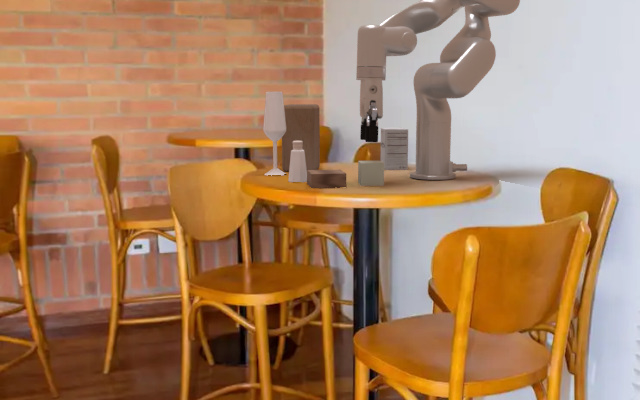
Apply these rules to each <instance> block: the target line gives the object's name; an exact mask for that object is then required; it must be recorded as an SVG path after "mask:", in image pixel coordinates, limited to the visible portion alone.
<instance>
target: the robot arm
mask: <svg viewBox="0 0 640 400" xmlns="http://www.w3.org/2000/svg"><path fill="white" fill-rule="evenodd" d="M520 2H521V0H418V1H417V2H415V3H412V4H411V5H409V6H408V7H406V8H404V9H402V10H400V11H398V12H397V13H395V14H393V15H391V16H390V17H388V18H386V20H384V21H382V22H381V23H380V24H379V25H378V24H363V25H361V26H359V27H358V29H357V44H356V45H357V46H356V47H357V50H356V72H355V73H356V74H355V75H356V80H357V81H360V85H359V86H360V89H359V90H360V91H359V116H360V118H361V122H360V140H362V141H365V143H378V141H379V121H378V119H379V120H381V119H383V116H384V114H383V113H384V111H383V110H384V109H383V108H384V107H383V106H384V105H383V104H384V102H383V101H384V95H383V94H384V92H383V81H386V79H387V78H386V73H387V69H386V67H387V57H398V56H399V57H401V56H402V57H403V56H407V55H409V54H411V53H412V52H414V50H415V49H416V47H417V43H418V39H417V38H418V37H417V35H418V34H421V33H427V32H428V31H431V30H434V29H436V28H438V27H440V26H441V25H442V24H444V23H445V22H447V20H448V19H449V18H451V17H452V16H454V14H456V13H457V12H459V11H460V10H461V9H462V8H464V14H465V16H464V17H465V21H464V25H463V27H462V28H461V29H460V31H459V32H458V33H457V34H455V36H454V37H453V38H452V39H451V40H450V41H449V42H448V43H447V44H446V45H445V47H444V48H443V49H442V51H441V53H440V55H439V62H429V63H426V64H424V65H422V66H420V67H419V68H418V69H417V70H416V72H415V73H414V76H413V91H414V95H415V101H416V102H415V103H416V126H415V127H416V130H415V131H416V132H415V134H416V135H415V136H416V137H415V171H411V172H410V173H409V177H410V178H412V179H415V180H429V181H439V180H440V181H443V180H452V179H455V178H456V172H458V171H460V172H467V171H468V164H466V163H456V162H455V163H454V162H453V161H451V144H452V143H451V140H452V139H451V137H452V135H451V133H452V111H451V110H452V109H451V107H450V104H449V101H448V99H462V98H464V97H466V96H467V95H469V94H470V93H471V92H472V91H473V90H474V89H475V88H476V87H477V85H479V83H480V82H481V81H482V80H483V79H484V78H485V76H486V75H487V74H488V73H489V72H490V71H491V70H492V69H493V66H494V64H495V60H496V55H497V54H496V53H497V50H496V47H495V45H494V43H493V42H492V41H491V37H492V32H491V27H490V22H489V18H491V17H500V16H501V17H502V16H507V15H510V14H512V13H515V11H516V10H517V9H518V8H519V6H520V4H521V3H520Z"/></svg>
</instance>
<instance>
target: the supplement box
mask: <svg viewBox="0 0 640 400" xmlns="http://www.w3.org/2000/svg"><path fill="white" fill-rule="evenodd" d="M408 156H409V129H408V128H405V127H400V126H399V127H380V160H381V161H382V162H384V171H395V170H396V171H398V170H399V171H405V170H408V168H409V165H408V164H409V163H408V162H409V159H408ZM380 160H379V161H380Z"/></svg>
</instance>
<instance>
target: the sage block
mask: <svg viewBox="0 0 640 400" xmlns="http://www.w3.org/2000/svg"><path fill="white" fill-rule="evenodd" d="M357 162H358V165H357V169H358V171H357V172H358V174H357V175H358V176H357V178H358V181H357V183H358V185H360V186H361V187H364V186H365V187H370V186H371V187H373V186H375V187H376V186H379V187H380V186H381V187H382V186H385V169H384V162H382V161H381V160H357Z"/></svg>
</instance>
